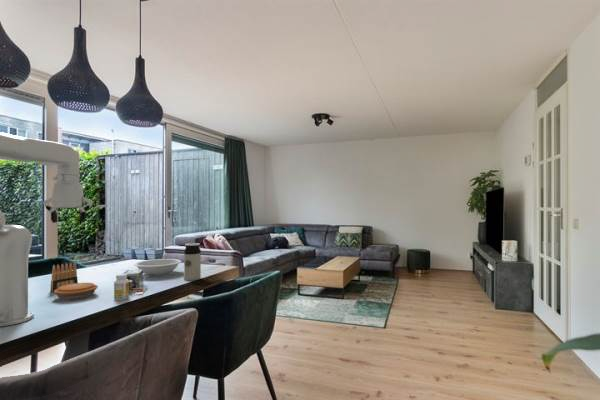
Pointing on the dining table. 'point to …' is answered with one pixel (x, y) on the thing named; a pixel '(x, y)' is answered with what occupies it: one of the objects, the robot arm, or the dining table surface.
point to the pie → (75, 291)
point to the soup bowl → (157, 266)
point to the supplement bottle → (121, 287)
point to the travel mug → (192, 262)
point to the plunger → (131, 283)
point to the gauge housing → (136, 279)
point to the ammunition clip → (63, 276)
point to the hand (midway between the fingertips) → (68, 222)
